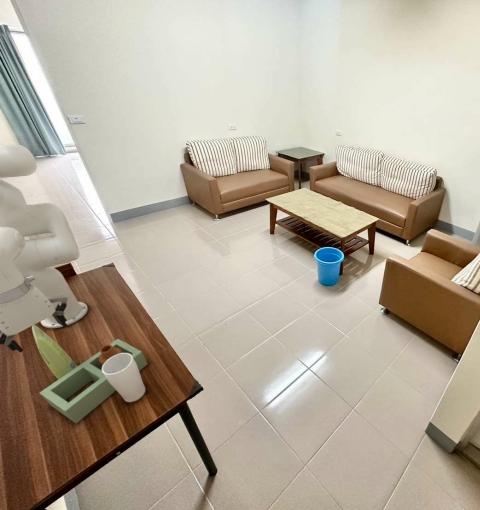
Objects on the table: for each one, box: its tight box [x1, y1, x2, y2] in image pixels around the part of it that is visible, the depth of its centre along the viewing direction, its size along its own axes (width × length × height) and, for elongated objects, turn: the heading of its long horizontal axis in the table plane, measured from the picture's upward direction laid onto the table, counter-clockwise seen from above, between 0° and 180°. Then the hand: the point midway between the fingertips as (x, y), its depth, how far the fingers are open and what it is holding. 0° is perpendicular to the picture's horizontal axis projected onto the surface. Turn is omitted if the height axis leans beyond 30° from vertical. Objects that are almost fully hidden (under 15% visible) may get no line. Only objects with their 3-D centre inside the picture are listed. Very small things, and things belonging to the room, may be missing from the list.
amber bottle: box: [98, 344, 122, 366], centre depth 81 cm, size 5×5×11 cm
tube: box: [31, 324, 79, 380], centre depth 77 cm, size 6×5×20 cm
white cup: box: [102, 353, 146, 403], centre depth 75 cm, size 7×7×15 cm
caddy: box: [39, 338, 148, 424], centre depth 79 cm, size 11×20×6 cm, turn 157°
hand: (42, 336), depth 74 cm, fingers open, 9 cm apart
